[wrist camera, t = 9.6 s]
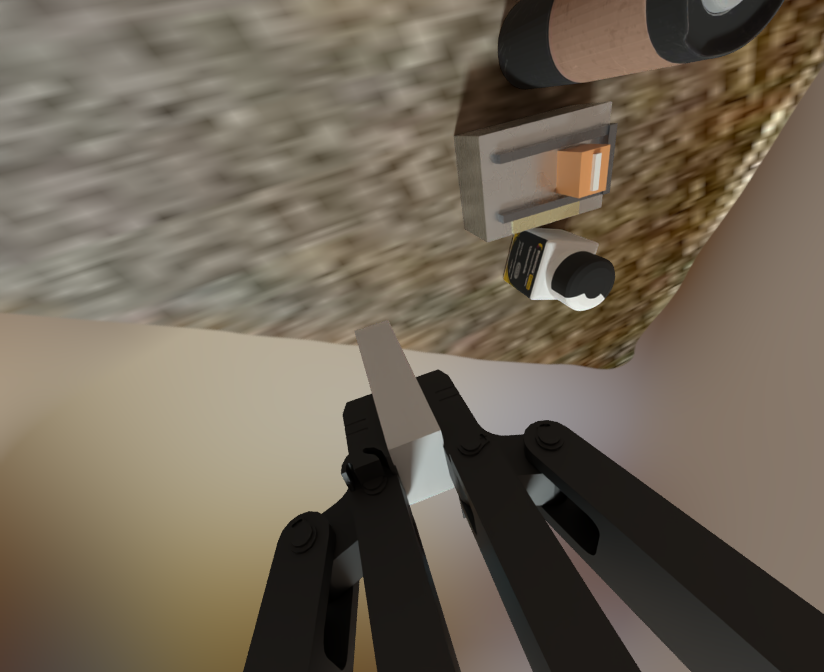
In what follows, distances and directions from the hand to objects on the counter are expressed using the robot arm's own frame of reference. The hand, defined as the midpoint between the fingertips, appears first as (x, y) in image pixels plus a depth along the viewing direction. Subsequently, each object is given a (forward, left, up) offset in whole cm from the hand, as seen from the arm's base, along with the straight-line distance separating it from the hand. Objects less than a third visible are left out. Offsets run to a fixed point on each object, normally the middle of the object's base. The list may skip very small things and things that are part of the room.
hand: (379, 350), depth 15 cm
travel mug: (-11, +24, -27) cm, 37 cm away
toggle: (0, +25, -20) cm, 32 cm away
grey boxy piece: (0, +22, -26) cm, 34 cm away
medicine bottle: (+11, +24, -27) cm, 37 cm away
